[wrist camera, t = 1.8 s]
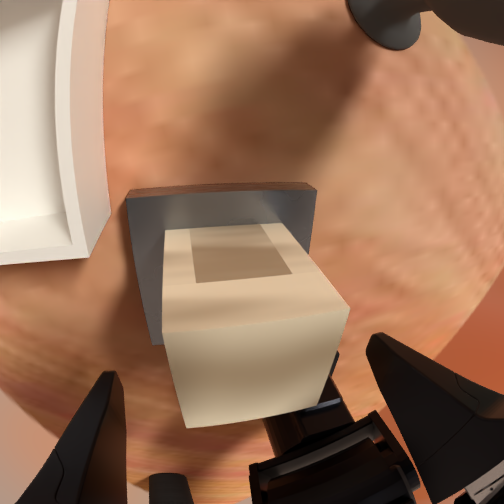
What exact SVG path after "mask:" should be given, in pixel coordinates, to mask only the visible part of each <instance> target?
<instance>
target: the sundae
mask: <svg viewBox="0 0 504 504" xmlns="http://www.w3.org/2000/svg"><path fill="white" fill-rule="evenodd" d="M348 4H349V6H350V9H351V11H352V13H353V15H354V17H355V19H356V21H357V22H358V24H359V25H360V26H361V28H362V29H363V30H364V31H365V32H366V33H367V35H368V36H370V37H371V38H372V39H374V40H375V41H376V42H378V43H379V44H381V45H382V46H385V47H388V48H391V49H395V50H401V49H406V48H409V47H411V46H412V45H413V44H414V43H415V42H416V41H417V40H418V38H419V35H420V31H421V19H420V12H425V11H433V12H434V13H435V14H436V15H437V16H438V17H439V18H440V19H441V20H442V21H444V22H445V23H446V24H447V25H449V26H450V27H451V28H452V29H453V30H455V31H457V32H458V33H460V34H462V35H464V36H468V37H472V38H475V39H479V40H483V41H486V42H490V43H494V44H499V45H503V46H504V0H348Z"/></svg>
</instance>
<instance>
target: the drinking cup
mask: <svg viewBox="0 0 504 504" xmlns="http://www.w3.org/2000/svg"><path fill="white" fill-rule="evenodd" d="M149 504H194V502H193V499H192V496H191V492H190V489H189V485H188V481H187V478H186V477H185V476H183V475H180V474H174V473H160V474H154V475H151V476H150V477H149Z"/></svg>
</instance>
